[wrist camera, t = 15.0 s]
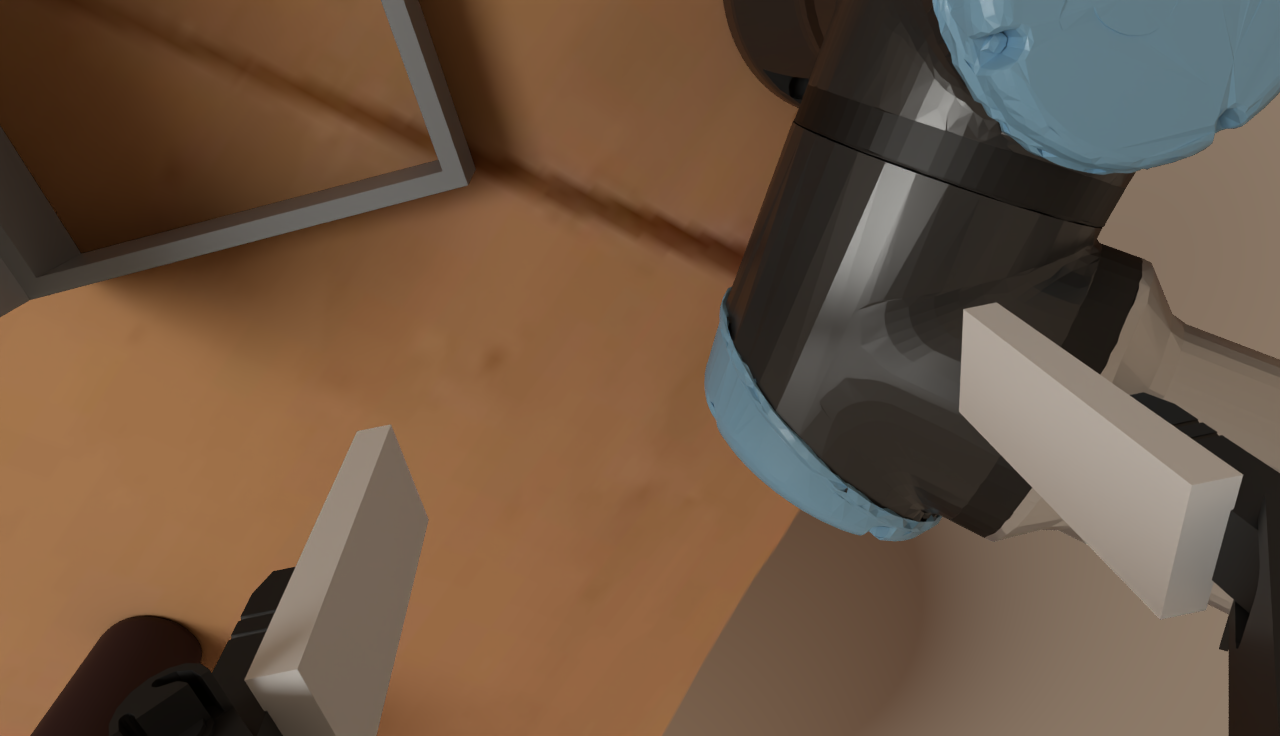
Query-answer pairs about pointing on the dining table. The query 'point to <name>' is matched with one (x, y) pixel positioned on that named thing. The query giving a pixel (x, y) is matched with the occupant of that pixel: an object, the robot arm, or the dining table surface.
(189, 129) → the dining table surface
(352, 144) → the dining table surface
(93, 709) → the wine bottle
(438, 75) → the case
